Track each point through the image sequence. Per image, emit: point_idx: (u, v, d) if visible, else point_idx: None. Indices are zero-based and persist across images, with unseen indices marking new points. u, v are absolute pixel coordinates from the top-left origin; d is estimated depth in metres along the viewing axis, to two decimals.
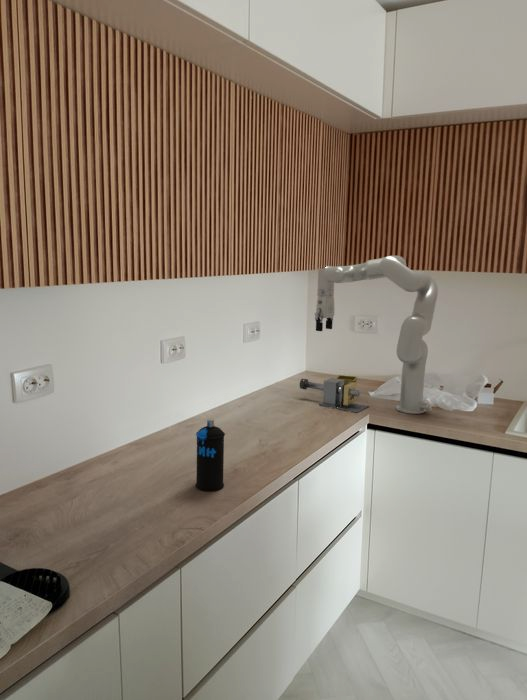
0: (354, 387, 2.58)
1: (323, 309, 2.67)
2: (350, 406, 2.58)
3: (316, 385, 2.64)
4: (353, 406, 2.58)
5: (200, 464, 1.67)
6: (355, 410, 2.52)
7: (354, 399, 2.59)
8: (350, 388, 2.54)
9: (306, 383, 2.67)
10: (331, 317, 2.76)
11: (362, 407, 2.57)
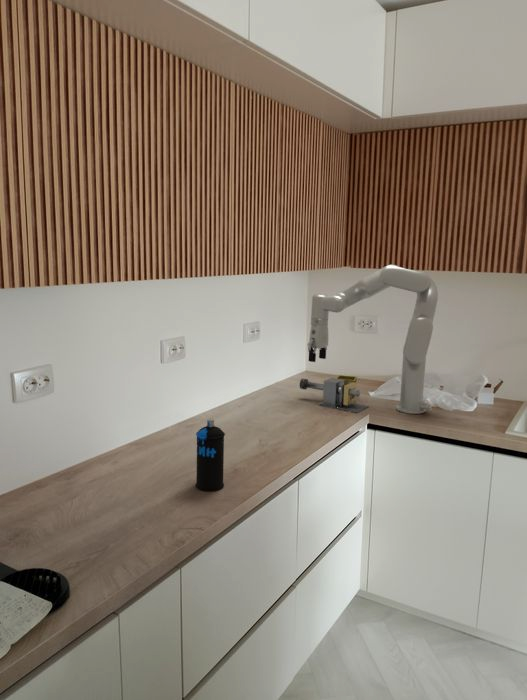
0: (354, 387, 2.58)
1: (316, 339, 2.57)
2: (350, 406, 2.58)
3: (316, 385, 2.64)
4: (353, 406, 2.58)
5: (200, 464, 1.67)
6: (355, 410, 2.52)
7: (354, 399, 2.59)
8: (350, 388, 2.54)
9: (306, 383, 2.67)
10: (325, 346, 2.65)
11: (362, 407, 2.57)
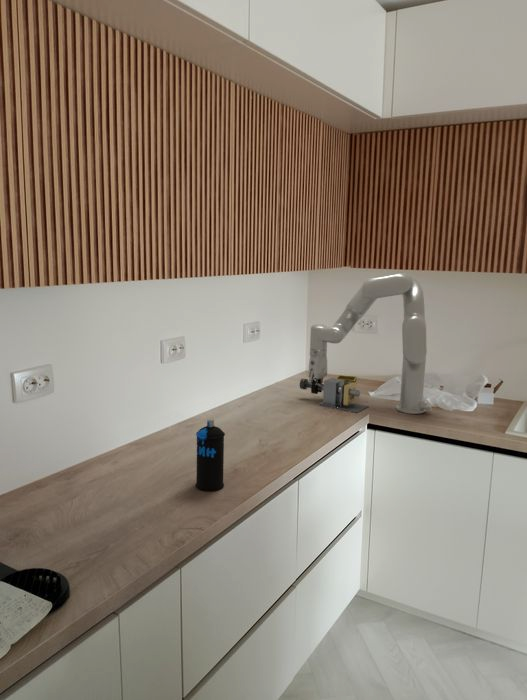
0: (354, 387, 2.58)
1: (315, 370, 2.59)
2: (350, 406, 2.58)
3: None
4: (353, 406, 2.58)
5: (200, 464, 1.67)
6: (355, 410, 2.52)
7: (354, 399, 2.59)
8: (350, 388, 2.54)
9: (306, 383, 2.67)
10: (321, 379, 2.66)
11: (362, 407, 2.57)
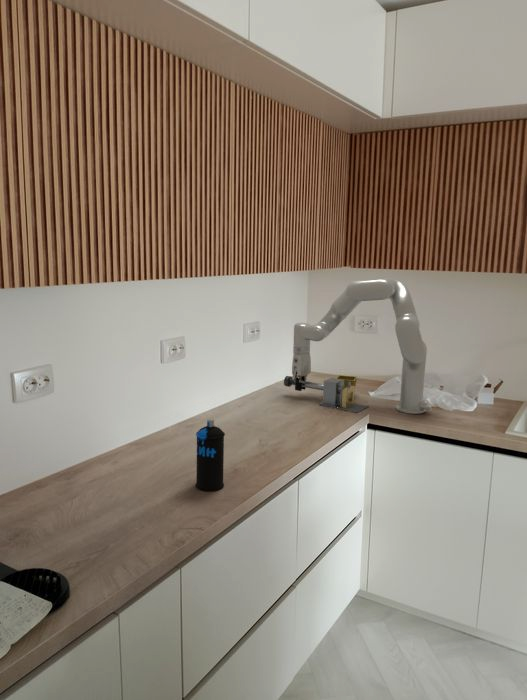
0: (352, 390, 2.58)
1: (299, 367, 2.64)
2: (350, 406, 2.58)
3: None
4: (353, 406, 2.58)
5: (200, 464, 1.67)
6: (355, 410, 2.52)
7: (352, 402, 2.60)
8: (348, 391, 2.55)
9: (290, 380, 2.72)
10: (305, 376, 2.71)
11: (362, 407, 2.57)
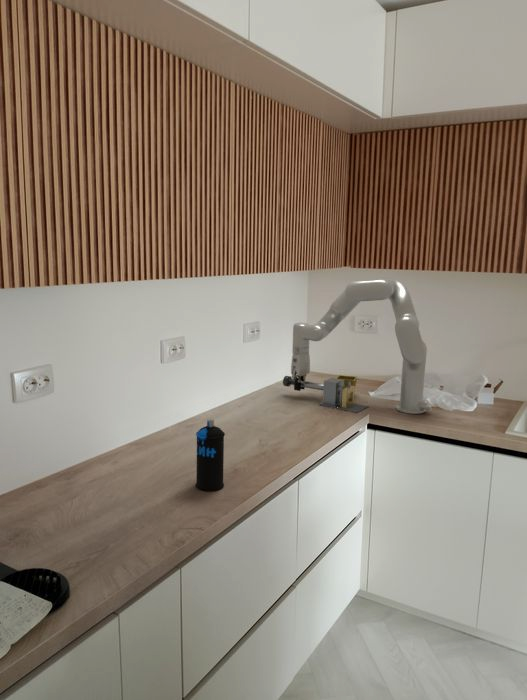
0: (352, 390, 2.58)
1: (298, 367, 2.64)
2: (350, 406, 2.58)
3: None
4: (353, 406, 2.58)
5: (200, 464, 1.67)
6: (355, 410, 2.52)
7: (352, 402, 2.60)
8: (348, 391, 2.55)
9: (289, 380, 2.72)
10: (304, 376, 2.71)
11: (362, 407, 2.57)
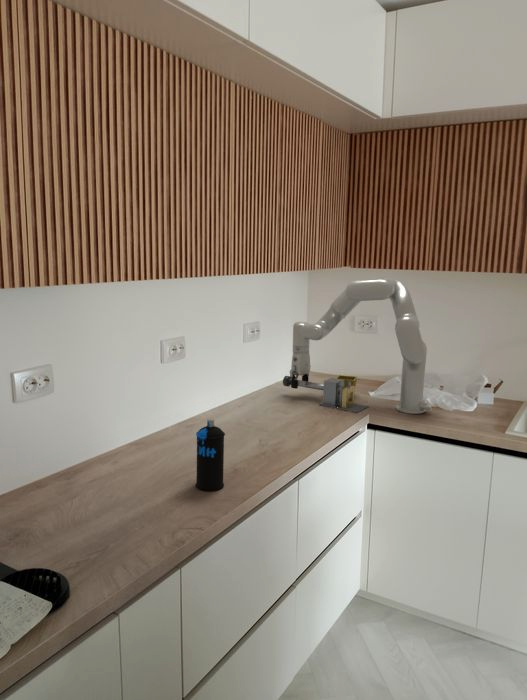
0: (352, 390, 2.58)
1: (298, 366, 2.64)
2: (350, 406, 2.58)
3: (299, 382, 2.69)
4: (353, 406, 2.58)
5: (200, 464, 1.67)
6: (355, 410, 2.52)
7: (352, 402, 2.60)
8: (348, 391, 2.55)
9: (289, 380, 2.72)
10: (307, 373, 2.72)
11: (362, 407, 2.57)
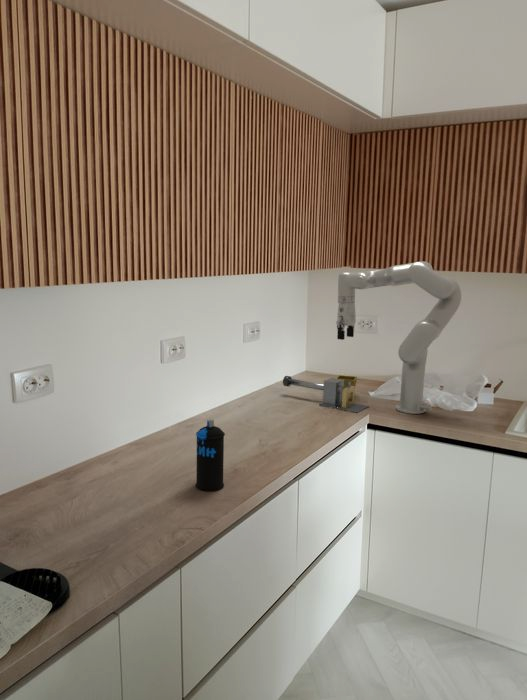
0: (352, 390, 2.58)
1: (345, 317, 2.59)
2: (350, 406, 2.58)
3: (299, 382, 2.69)
4: (353, 406, 2.58)
5: (200, 464, 1.67)
6: (355, 410, 2.52)
7: (352, 402, 2.60)
8: (348, 391, 2.55)
9: (289, 380, 2.72)
10: (352, 324, 2.68)
11: (362, 407, 2.57)
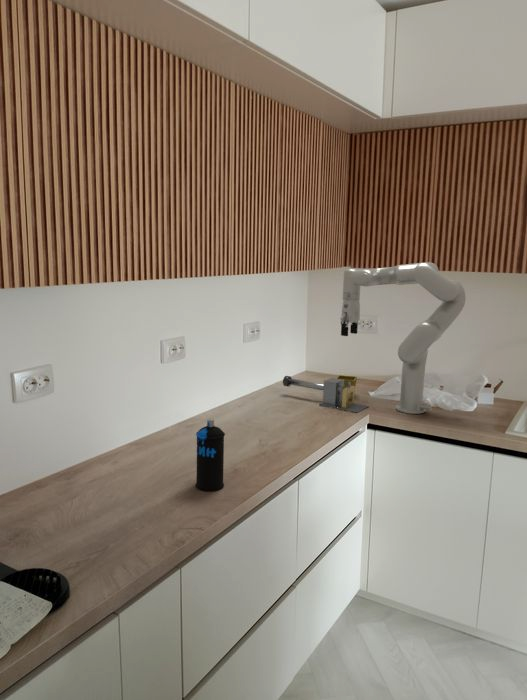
0: (352, 390, 2.58)
1: (349, 313, 2.59)
2: (350, 406, 2.58)
3: (299, 382, 2.69)
4: (353, 406, 2.58)
5: (200, 464, 1.67)
6: (355, 410, 2.52)
7: (352, 402, 2.60)
8: (348, 391, 2.55)
9: (289, 380, 2.72)
10: (356, 321, 2.67)
11: (362, 407, 2.57)
